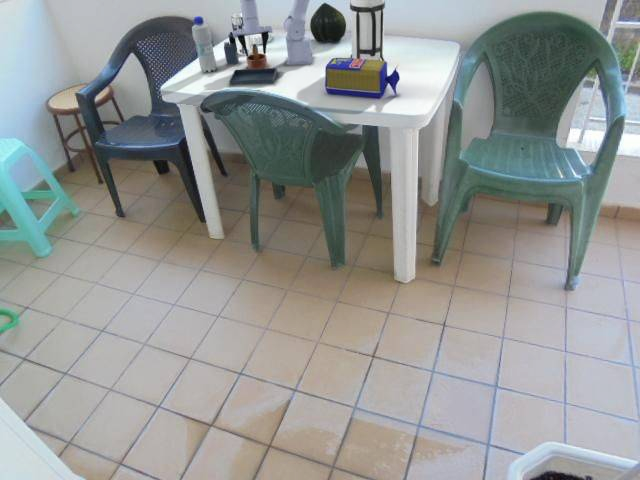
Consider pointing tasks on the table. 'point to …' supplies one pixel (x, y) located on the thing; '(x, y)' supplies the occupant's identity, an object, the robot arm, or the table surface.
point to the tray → (253, 76)
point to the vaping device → (231, 50)
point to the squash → (327, 24)
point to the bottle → (204, 45)
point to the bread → (359, 77)
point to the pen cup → (257, 62)
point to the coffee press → (367, 29)
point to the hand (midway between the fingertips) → (255, 54)
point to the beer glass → (237, 25)
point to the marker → (255, 52)
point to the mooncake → (258, 39)
